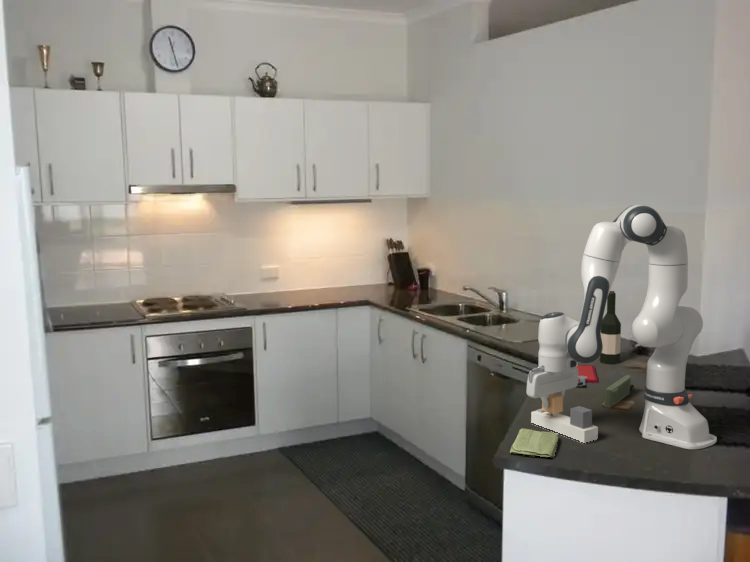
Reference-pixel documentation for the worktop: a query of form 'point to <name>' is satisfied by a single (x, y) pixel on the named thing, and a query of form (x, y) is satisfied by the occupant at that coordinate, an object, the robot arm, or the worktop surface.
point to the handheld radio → (617, 391)
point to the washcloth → (535, 443)
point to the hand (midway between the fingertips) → (552, 405)
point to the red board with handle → (586, 374)
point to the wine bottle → (610, 333)
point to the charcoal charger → (581, 417)
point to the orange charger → (554, 404)
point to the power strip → (564, 426)
